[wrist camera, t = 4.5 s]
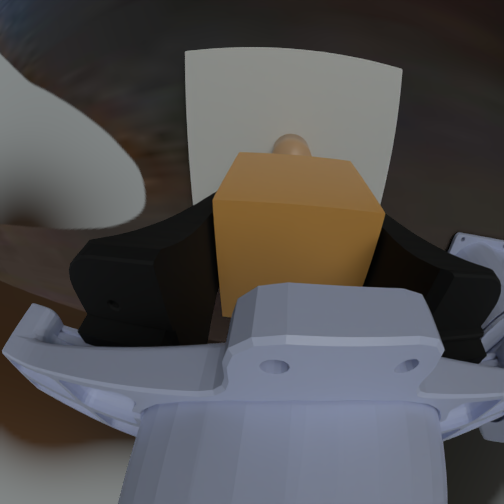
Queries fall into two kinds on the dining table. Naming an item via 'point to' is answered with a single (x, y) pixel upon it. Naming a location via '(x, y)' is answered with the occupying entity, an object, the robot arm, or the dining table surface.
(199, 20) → the dining table surface
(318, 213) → the tilted mustard cube
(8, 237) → the dining table surface
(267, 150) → the plate
